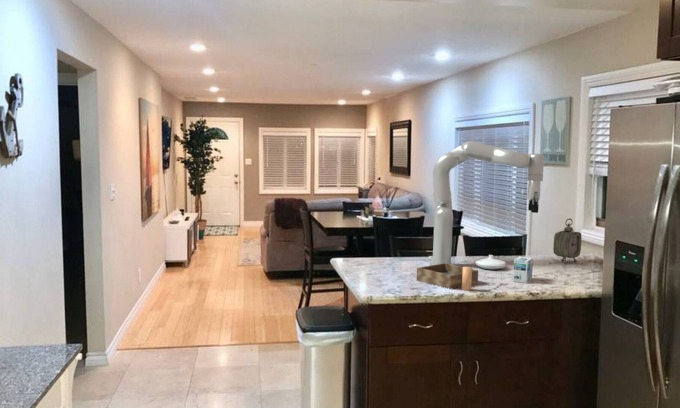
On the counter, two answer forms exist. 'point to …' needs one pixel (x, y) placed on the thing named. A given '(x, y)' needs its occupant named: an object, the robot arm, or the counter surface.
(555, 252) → the tabletop clock
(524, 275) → the light bulb box
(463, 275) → the peg
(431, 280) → the bore box
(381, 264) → the counter surface
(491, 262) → the vase
